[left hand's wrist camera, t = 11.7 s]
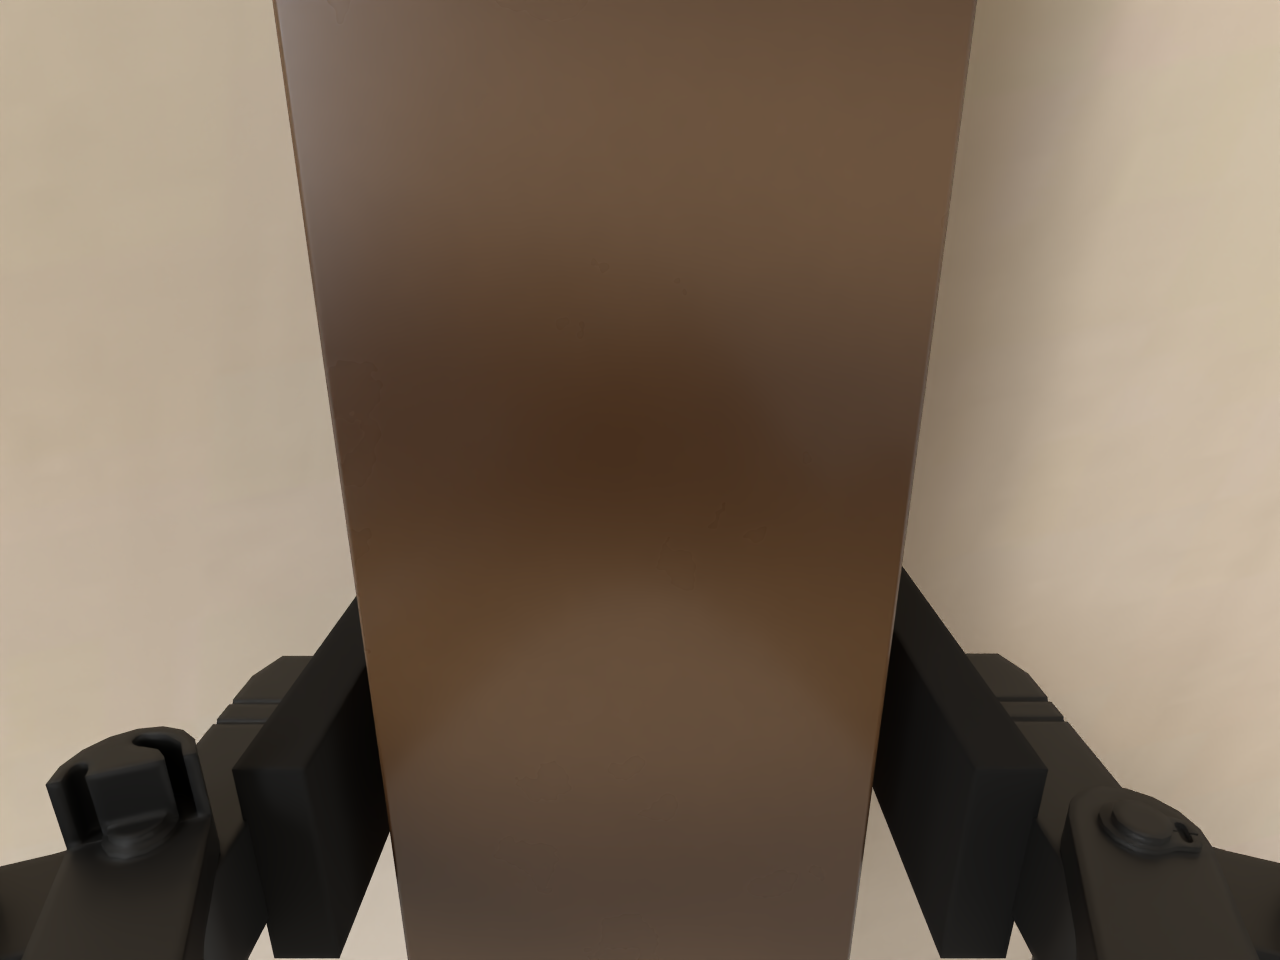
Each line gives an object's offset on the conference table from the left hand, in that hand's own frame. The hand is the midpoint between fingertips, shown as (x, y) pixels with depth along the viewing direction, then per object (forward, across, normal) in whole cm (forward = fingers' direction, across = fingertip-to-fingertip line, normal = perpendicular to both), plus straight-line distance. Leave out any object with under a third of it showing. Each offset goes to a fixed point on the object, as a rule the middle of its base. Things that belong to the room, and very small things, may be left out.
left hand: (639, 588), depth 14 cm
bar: (+2, 0, -27) cm, 27 cm away
